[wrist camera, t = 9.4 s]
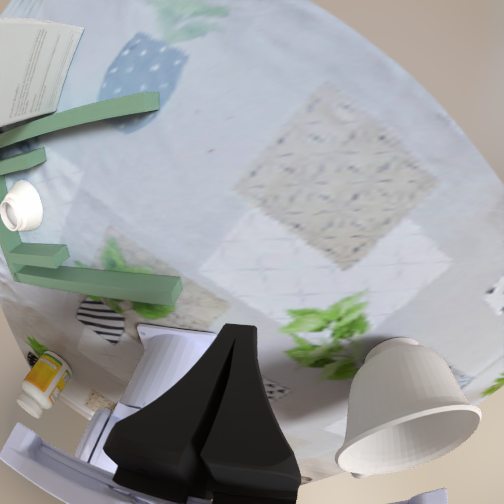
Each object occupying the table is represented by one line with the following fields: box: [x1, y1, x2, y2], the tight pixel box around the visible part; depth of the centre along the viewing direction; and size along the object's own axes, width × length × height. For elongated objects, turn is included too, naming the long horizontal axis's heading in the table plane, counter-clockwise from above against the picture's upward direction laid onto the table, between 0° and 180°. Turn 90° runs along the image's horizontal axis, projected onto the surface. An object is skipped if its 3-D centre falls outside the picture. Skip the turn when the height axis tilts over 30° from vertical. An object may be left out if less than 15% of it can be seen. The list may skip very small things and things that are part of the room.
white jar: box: [0, 180, 43, 231], centre depth 21 cm, size 5×3×5 cm
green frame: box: [0, 92, 182, 306], centre depth 18 cm, size 15×20×8 cm
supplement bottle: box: [17, 351, 72, 418], centre depth 31 cm, size 5×5×10 cm
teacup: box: [335, 337, 482, 479], centre depth 21 cm, size 12×15×10 cm
